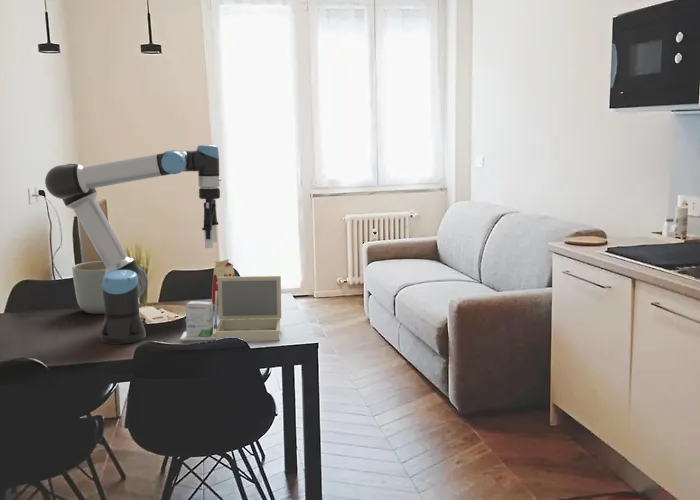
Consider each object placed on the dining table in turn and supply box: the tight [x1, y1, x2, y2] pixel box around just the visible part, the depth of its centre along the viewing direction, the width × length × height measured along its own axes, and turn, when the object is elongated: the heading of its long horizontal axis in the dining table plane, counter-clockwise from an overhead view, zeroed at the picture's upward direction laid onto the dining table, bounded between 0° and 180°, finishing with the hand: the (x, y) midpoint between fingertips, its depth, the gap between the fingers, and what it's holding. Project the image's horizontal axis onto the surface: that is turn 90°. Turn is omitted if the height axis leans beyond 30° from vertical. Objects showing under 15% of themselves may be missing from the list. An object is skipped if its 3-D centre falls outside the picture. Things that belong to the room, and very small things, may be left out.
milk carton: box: [211, 258, 236, 308], centre depth 283 cm, size 9×9×20 cm
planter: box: [72, 260, 106, 315], centre depth 273 cm, size 21×21×19 cm
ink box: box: [185, 300, 214, 337], centre depth 238 cm, size 9×5×12 cm, turn 85°
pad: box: [179, 330, 216, 341], centre depth 239 cm, size 13×9×1 cm
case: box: [213, 275, 282, 342], centre depth 240 cm, size 24×17×20 cm
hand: (211, 245), depth 248 cm, fingers open, 13 cm apart
